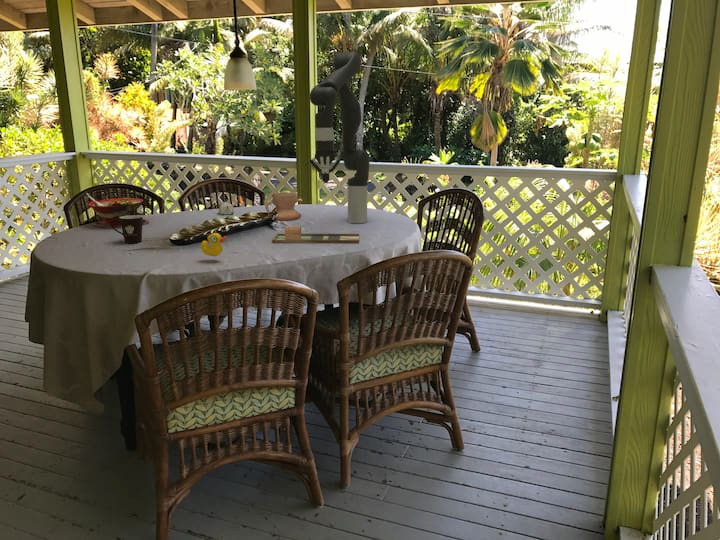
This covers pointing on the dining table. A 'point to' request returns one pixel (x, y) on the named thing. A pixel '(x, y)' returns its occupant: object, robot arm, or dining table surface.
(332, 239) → the trap pads
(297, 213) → the ceramic jug
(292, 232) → the terracotta block
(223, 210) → the grey rounded lump
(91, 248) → the dining table surface
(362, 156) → the robot arm
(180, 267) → the dining table surface
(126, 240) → the coffee mug
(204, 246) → the duckling
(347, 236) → the flat tray
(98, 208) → the stew
